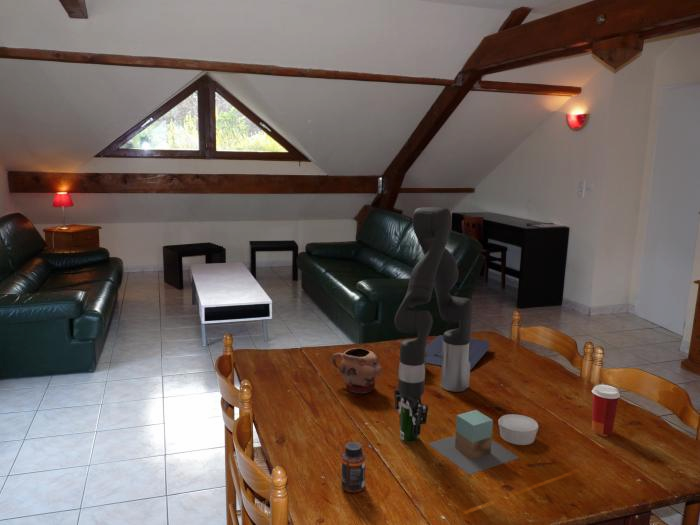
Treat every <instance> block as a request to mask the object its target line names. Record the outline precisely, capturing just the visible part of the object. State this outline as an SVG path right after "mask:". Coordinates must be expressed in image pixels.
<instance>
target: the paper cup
mask: <svg viewBox="0 0 700 525" xmlns="http://www.w3.org/2000/svg"><path fill="white" fill-rule="evenodd" d="M591 392H592V411H591V412H592V414H591V417H592V418H591V431H592V430H593V431H594V432H595V433H597V434H600V435H611V434H613V429H614V425H615V420H616V415H617V410H618V404H619V398H620V397H621V394H620V392H619V389H618V388H616V387H614V386H611V385H607V384H596V385H595V386H594V387H593V388H592V390H591ZM595 433H594V434H595ZM597 434H596V435H597ZM611 436H612V435H611Z"/></svg>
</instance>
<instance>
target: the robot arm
mask: <svg viewBox="0 0 700 525" xmlns="http://www.w3.org/2000/svg"><path fill="white" fill-rule="evenodd" d="M452 216H453V215H452V213H451V211H450V209H449V208H447V207H440V206H439V207H436V206H435V207H434V206H432V207H431V206H429V207H427V206H425V207H424V206H423V207H418V208H416V209H415V210H414V212H413V214H412V218H411V219H412V220H411V221H412V223H411V224H412V228H413V231H414V234H415V236H416V239H417V241H418V244H419V246H420V248H421V250H422V253H423V256H422V257H421V258H420V259H419V261H418V262H417V263H416V264H415V266H414V267H413V268H412V270H411V273H410V276H409V282H408V284H407V285H408V286H407V290H406V294H405V296H404V298H403V300H402V302H401V304H400V305H399V307H398V309H397V311H396V312H395V315H394V321H393V322H394V326H395V329H396V330H397V331H398V332H400V333H403V334H404V333H405V334H412V335H417V338H411V339H410V338H409V339H405V340H403V341H402V342H401V343H400V348H399V364H398V365H399V366H398V374H397V375H398V377H397V380H398V381H397V389H394V396H393V397H394V409H395V410H397V412H398V414H399V425H400V424H401V403H402V401H403V403H404V402H406V403H407V405H408V407H409V409H410V412H409V414H410V416H411V417H412V421H413V429H412V435H413V436H418V435H419V436H421V431H422V430H421V426H422V425H425V424H427V420H428V411H429V406H428V404H423V403H422V402H423V401H422V395H423V394H424V393H425V383H426V382H425V380H426V378H425V377H426V370H425V364H424V362H425V347H426V345H427V343H428V342H427V341H428V339H429V335H430V333H431V330H432V327H433V323H434V319H433V315H432V314H431V312H430V311H429V310H425V309H417V308H414V307H416V306H418V305H425V304H428V303H429V302H430V301H431V300H432V295H433V289H434V291H435V295H436V300H437V301H436V302H437V308H438V310H439V315H440V318H441V320H443V321H444V322H448V323H453V324H459V325H458V327H457V328H454V329H448V330H446V331H445V332H443V335H442V336H443V352H442V366H441V375H440V387H441V388H442V389H443V390H445V391H449V392H455V393H457V392H464V391H466V390H467V389H468V388H469V387H470V378H471V377H470V376H471V375H470V374H471V370H470V362H469V361H468V358H469V341H470V338H471V331H472V320H473V313H474V303H473V302H472V300H471V299H470V298H467V297H461V296H460V297H459V296H454V295H451V294H450V291H451V290H452V289H453V287H455V284H456V283H457V281H458V279H459V275H460V274H459V273H460V272H459V268H458V265H457V260H456V258H455V257H454V255H453V254H452V253H451V251H450V250H448V249H447V248H446V247H447V243H448V240H449V237H450V234H451V230H452V224H453V221H452V220H453V219H452ZM418 408H419V409H418ZM417 409H418V410H417ZM413 410H417V411H418V412H417V413H413ZM415 416H417V420H416V418H415ZM419 436H418V437H419Z"/></svg>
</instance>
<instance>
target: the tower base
mask: <svg viewBox="0 0 700 525" xmlns="http://www.w3.org/2000/svg"><path fill="white" fill-rule="evenodd" d="M455 435H456V439H455V448H456V449H458V450H459V451H460V452H462V453H463V454H465V455H466V456H467V457H469V458H470V459H474V458H477V457H480V456H484V455H487V454H490V453H491V443H492V440H493V436H492V437H489V438H486V439H483V440H479V441H476V442H473V443H472V442H471V441H469V440H468V439H466V438H465V437H463V436H462V435H460V434H459V433H458V432H456V431H455Z"/></svg>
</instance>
